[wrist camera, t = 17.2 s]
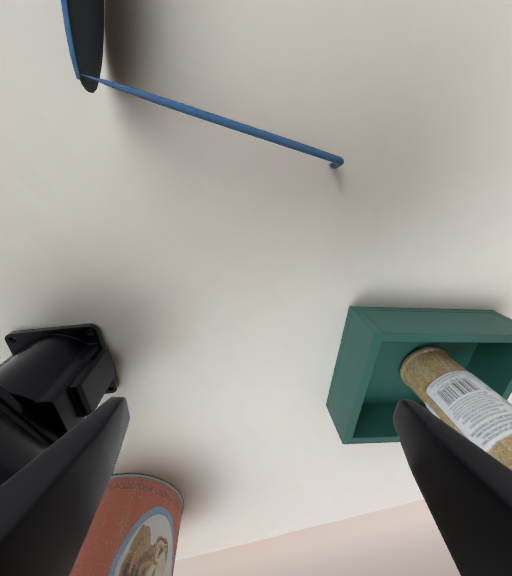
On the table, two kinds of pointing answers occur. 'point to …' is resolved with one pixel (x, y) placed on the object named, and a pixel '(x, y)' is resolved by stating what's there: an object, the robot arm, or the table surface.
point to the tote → (396, 348)
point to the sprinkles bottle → (461, 400)
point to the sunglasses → (87, 65)
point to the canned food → (132, 529)
